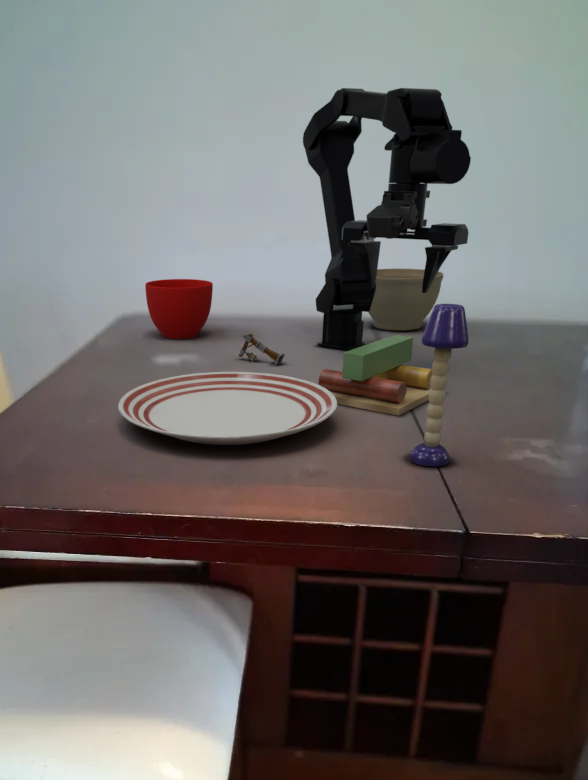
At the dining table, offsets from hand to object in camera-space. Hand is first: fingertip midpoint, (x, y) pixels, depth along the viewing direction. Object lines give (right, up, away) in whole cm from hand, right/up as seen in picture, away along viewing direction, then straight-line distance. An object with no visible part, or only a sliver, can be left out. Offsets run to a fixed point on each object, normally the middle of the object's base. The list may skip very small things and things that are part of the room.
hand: (397, 290), depth 118 cm
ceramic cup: (-35, 0, +30) cm, 46 cm away
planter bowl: (+9, +3, +35) cm, 36 cm away
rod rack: (-6, -19, -13) cm, 23 cm away
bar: (-6, -15, -14) cm, 22 cm away
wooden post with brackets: (-21, -10, +7) cm, 25 cm away
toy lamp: (-6, -30, -36) cm, 47 cm away
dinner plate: (-28, -24, -24) cm, 44 cm away
